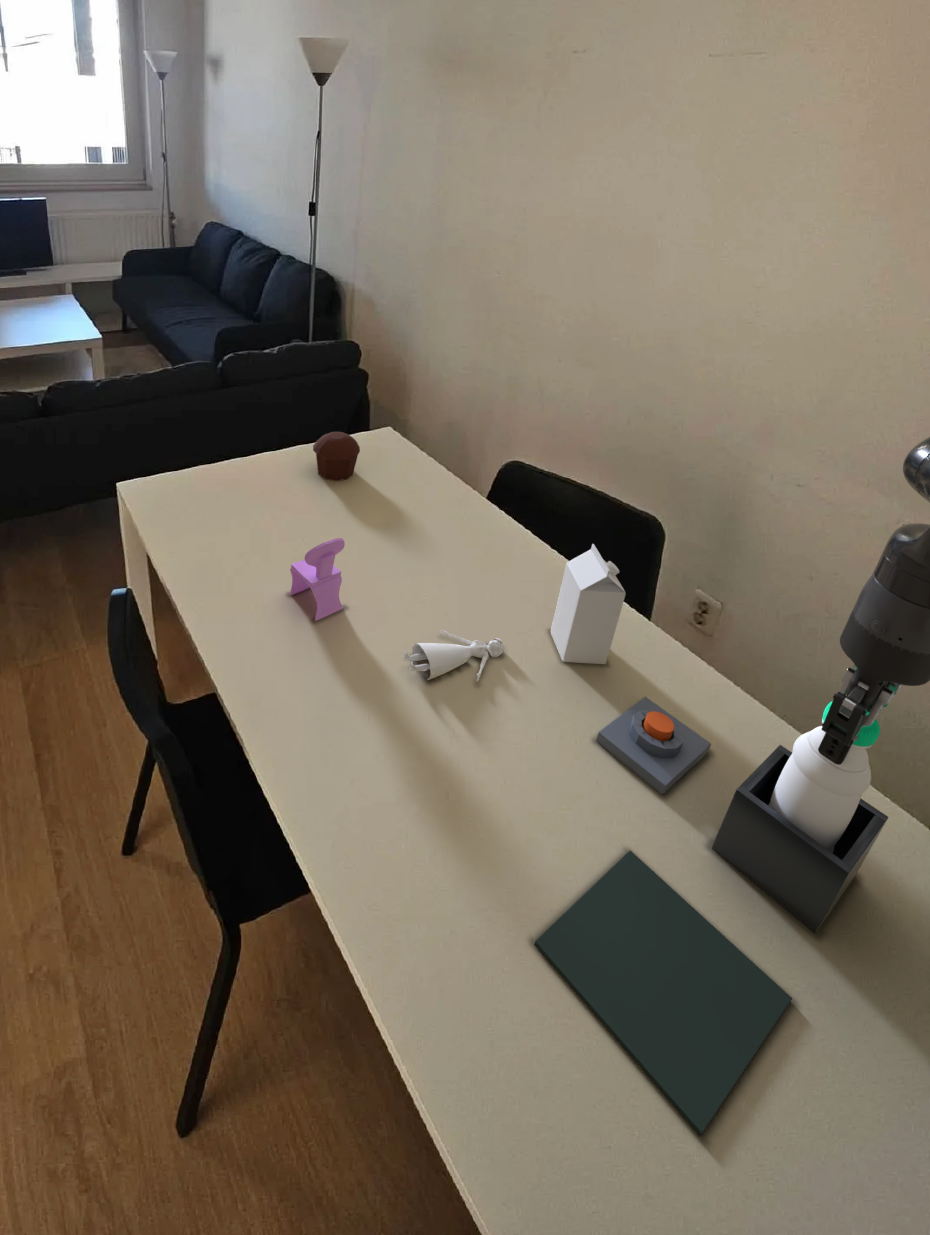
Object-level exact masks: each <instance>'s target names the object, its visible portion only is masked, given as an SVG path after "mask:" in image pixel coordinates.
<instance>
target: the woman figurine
mask: <svg viewBox="0 0 930 1235" xmlns="http://www.w3.org/2000/svg"><path fill="white" fill-rule="evenodd" d="M440 634H442V635H445V636H448V637H451V638H453V639H455V640H457V641H459V642H461V643H463V644H466V645H462V644H456V643H455V644H454V643H437V642H415V643H414V644H413V646H412V647H411V648H412V649H411V650H412V652H411V653H412V654H411V655H409V654H408V651H404V652H403V658H402V660H403V661H410V663H409V666H410V667H409V671H411V672H426V671H429V670H430V675H429V677H428V678H427V679H426V680H427V681H430V680H432V679H434V678H438V677H439V676H441V675H444V674H446V673H449V672H450V671H452V670H454V669H456V668H459V667H460V666H462V665H464V664H465V663H467V662H468V661H469V659H470V658H471V657H476V658H478V659H479V658H480V659H481V662H480V663H479V664H480V665H479V670H478V673H476V675H475V676H477V679H476V680H475V681H476V682H479V681H480V678H481V675H482V672H483V670H484V668H485V666H486V662H487V661H488V660H489V659H490V656H491V657H492V658H497V657H499V656H501V655H502V654H503V653H504V650H505V645H504V642H503V640H502V639H501V638H494V639H492V640H490V641H489V642H488V644H486V643H484V642H483V641H481V640H477V639H475V640H473V641H471V640H468V639H466V638H464V637H461V636H458V635H455V634H453V633H450V632H448V631H446V630H444V629H441V630H440ZM422 660H423V661H424V660H428V663H421V664H414V661H415V662H419V661H422Z"/></svg>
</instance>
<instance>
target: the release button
mask: <svg viewBox="0 0 930 1235" xmlns="http://www.w3.org/2000/svg"><path fill="white" fill-rule="evenodd" d="M643 727H644V730H645V731H646V733H647V734H648V735H650V736H651V737H652V738H654V739H657V740H660V741H668V740H669V739H670V738H671V736H672V733H673V730H674V724H673V722H672V720H671V719H670V718H669V717H667V716H666V715H664V714H662V713H660V712H655V711H653V712H649V713H648V714H647V715H646V718H645V721H644V724H643Z"/></svg>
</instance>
